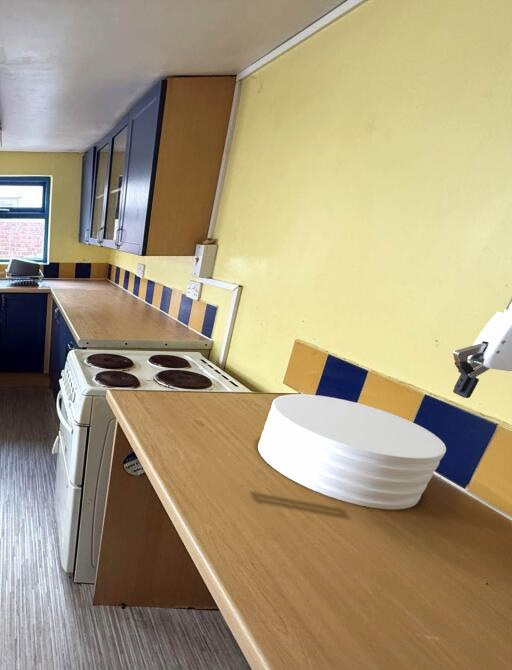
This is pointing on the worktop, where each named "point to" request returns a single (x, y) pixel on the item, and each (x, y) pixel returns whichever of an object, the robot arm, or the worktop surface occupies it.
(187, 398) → the worktop surface
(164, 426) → the worktop surface
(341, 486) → the plate stack
